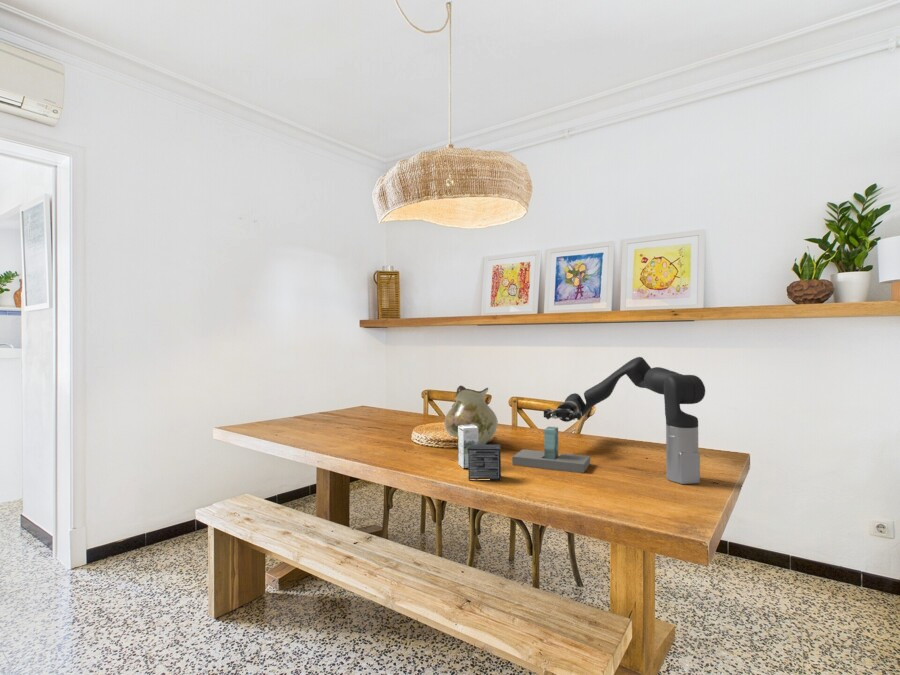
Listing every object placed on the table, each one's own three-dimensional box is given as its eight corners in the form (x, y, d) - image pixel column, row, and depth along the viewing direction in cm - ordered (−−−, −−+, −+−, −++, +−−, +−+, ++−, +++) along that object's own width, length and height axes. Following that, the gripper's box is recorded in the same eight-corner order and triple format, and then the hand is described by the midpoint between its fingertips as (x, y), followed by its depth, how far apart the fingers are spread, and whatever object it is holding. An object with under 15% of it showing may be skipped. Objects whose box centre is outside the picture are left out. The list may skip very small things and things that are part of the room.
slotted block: (583, 473, 160) (583, 464, 160) (512, 464, 171) (512, 456, 171) (590, 464, 170) (590, 456, 170) (522, 457, 181) (522, 449, 181)
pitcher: (482, 454, 186) (481, 390, 187) (432, 447, 199) (431, 387, 199) (506, 443, 206) (505, 385, 206) (459, 438, 218) (458, 383, 218)
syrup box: (472, 463, 173) (472, 423, 173) (478, 468, 167) (478, 426, 167) (457, 465, 171) (457, 424, 171) (463, 469, 165) (463, 427, 165)
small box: (501, 475, 158) (500, 443, 158) (501, 481, 152) (500, 448, 152) (469, 474, 159) (468, 443, 159) (468, 480, 153) (467, 448, 153)
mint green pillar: (554, 467, 168) (554, 430, 168) (544, 465, 169) (544, 429, 169) (558, 462, 173) (558, 427, 173) (548, 461, 174) (548, 426, 174)
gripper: (585, 421, 193) (577, 428, 178) (550, 418, 199) (540, 425, 185) (585, 402, 193) (577, 408, 178) (550, 400, 199) (540, 406, 184)
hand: (558, 417), depth 181 cm, fingers open, 8 cm apart
